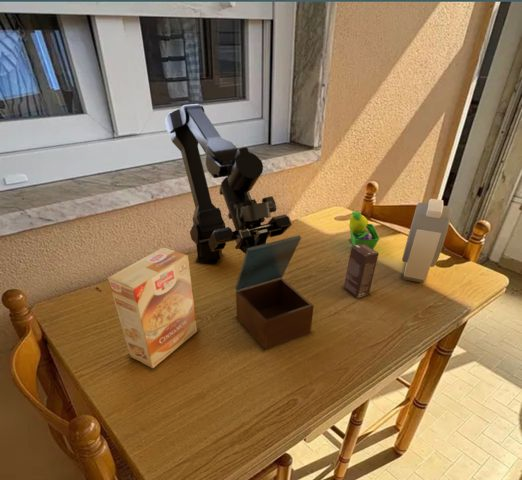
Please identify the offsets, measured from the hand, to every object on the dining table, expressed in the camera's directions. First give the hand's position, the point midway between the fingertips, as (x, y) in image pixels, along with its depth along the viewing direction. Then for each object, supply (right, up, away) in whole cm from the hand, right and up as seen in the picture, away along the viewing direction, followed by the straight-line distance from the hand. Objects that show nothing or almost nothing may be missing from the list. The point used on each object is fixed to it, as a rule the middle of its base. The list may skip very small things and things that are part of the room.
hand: (263, 268), depth 85 cm
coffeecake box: (-22, -17, 0) cm, 28 cm away
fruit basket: (+31, +15, +37) cm, 50 cm away
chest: (+2, -12, +5) cm, 14 cm away
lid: (+1, 0, -2) cm, 2 cm away
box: (+25, -3, +17) cm, 30 cm away
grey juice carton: (+44, +4, +25) cm, 50 cm away
